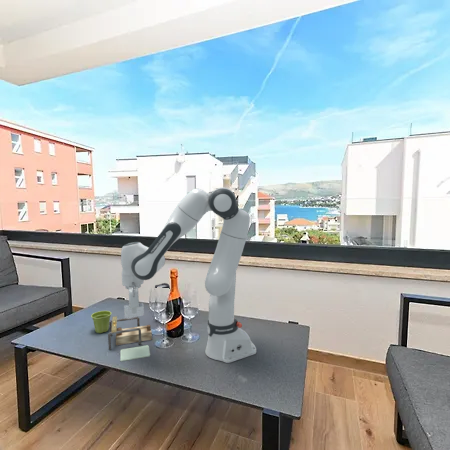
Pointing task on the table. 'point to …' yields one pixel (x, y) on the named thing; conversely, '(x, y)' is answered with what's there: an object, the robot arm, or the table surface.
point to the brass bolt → (114, 324)
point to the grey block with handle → (129, 311)
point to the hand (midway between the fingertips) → (134, 310)
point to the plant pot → (101, 321)
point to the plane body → (130, 333)
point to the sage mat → (134, 353)
